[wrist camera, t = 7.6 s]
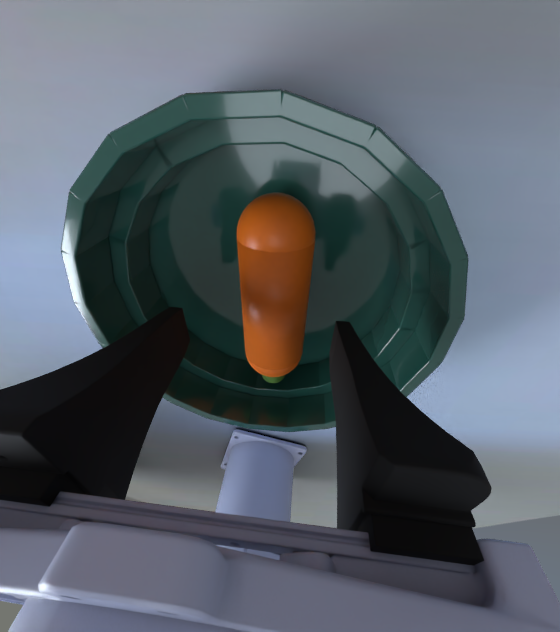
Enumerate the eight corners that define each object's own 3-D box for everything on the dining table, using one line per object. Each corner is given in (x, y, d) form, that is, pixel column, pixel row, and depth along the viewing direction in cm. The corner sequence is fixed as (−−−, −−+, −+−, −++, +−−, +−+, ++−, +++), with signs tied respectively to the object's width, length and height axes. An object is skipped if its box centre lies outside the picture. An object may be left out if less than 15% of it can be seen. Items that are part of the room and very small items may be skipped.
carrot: (296, 354, 20) (302, 395, 17) (247, 355, 19) (245, 397, 17) (313, 184, 13) (328, 206, 10) (236, 183, 12) (229, 205, 10)
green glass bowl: (342, 394, 22) (348, 454, 18) (136, 337, 21) (95, 390, 17) (505, 177, 12) (600, 211, 8) (115, 28, 10) (-10, -24, 6)
